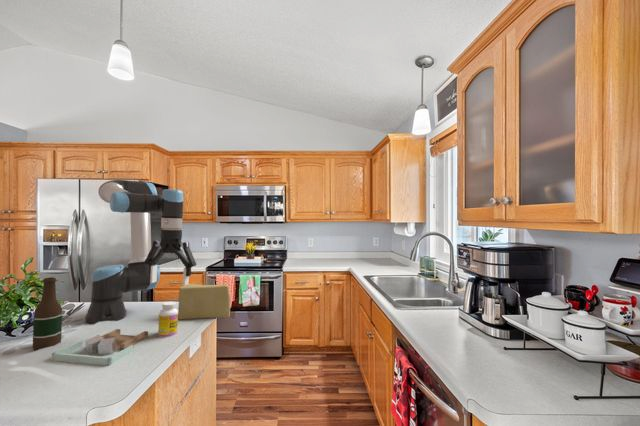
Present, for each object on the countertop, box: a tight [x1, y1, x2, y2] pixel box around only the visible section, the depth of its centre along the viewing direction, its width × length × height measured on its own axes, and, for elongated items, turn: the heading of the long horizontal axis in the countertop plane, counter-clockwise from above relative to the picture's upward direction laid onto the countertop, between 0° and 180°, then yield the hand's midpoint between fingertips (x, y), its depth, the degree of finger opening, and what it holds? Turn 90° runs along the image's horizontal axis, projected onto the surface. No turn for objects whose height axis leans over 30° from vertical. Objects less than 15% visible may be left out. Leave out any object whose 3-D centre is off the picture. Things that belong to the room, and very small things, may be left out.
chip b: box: [97, 337, 116, 356], centre depth 102 cm, size 4×4×4 cm
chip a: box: [84, 334, 105, 354], centre depth 103 cm, size 4×4×4 cm
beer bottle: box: [32, 276, 63, 352], centre depth 107 cm, size 8×8×24 cm
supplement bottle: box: [157, 301, 179, 338], centre depth 119 cm, size 7×7×13 cm
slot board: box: [101, 328, 149, 351], centre depth 110 cm, size 12×13×3 cm
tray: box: [51, 340, 134, 366], centre depth 99 cm, size 10×20×3 cm, turn 83°
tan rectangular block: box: [177, 283, 231, 321], centre depth 143 cm, size 22×10×15 cm, turn 93°
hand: (169, 283), depth 119 cm, fingers open, 13 cm apart
